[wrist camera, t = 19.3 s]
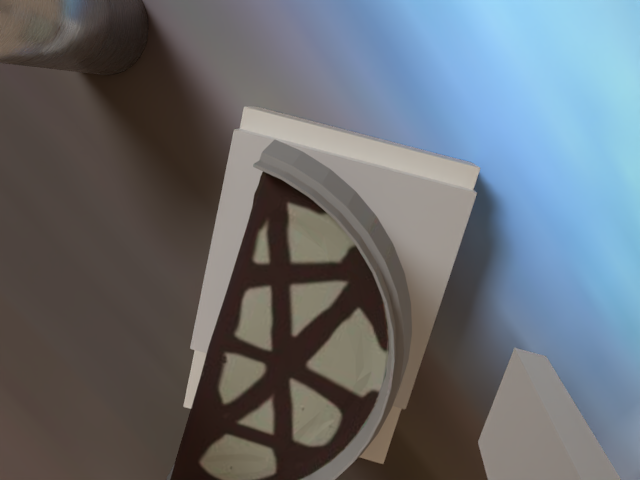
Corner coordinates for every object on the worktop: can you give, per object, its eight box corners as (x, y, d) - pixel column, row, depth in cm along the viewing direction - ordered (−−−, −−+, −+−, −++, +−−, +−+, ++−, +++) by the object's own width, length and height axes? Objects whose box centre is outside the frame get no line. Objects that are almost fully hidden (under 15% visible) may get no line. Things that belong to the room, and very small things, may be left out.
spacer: (61, -39, 26) (-126, -123, 17) (155, -16, 26) (19, -89, 16) (52, 62, 27) (-129, 38, 18) (140, 84, 27) (6, 72, 18)
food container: (350, 410, 26) (332, 585, 17) (233, 368, 27) (148, 517, 17) (444, 174, 23) (488, 223, 14) (309, 128, 23) (259, 143, 14)
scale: (256, 106, 27) (238, 106, 23) (471, 162, 26) (484, 170, 23) (198, 383, 31) (176, 417, 28) (383, 435, 31) (383, 476, 27)
